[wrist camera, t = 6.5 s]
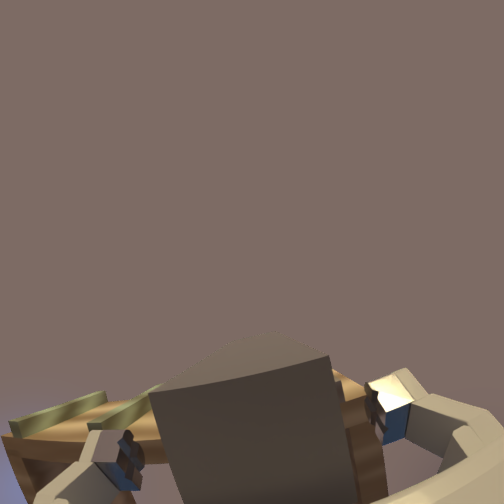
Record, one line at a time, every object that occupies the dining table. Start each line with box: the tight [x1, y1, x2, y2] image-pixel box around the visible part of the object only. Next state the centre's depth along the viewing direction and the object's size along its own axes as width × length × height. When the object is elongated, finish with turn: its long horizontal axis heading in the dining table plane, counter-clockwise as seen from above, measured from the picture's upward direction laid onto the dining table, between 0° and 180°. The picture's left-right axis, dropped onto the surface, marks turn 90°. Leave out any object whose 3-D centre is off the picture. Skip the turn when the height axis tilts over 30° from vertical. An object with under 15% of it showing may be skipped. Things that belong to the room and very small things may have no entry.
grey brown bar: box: [148, 331, 358, 504], centre depth 18 cm, size 24×4×4 cm, turn 179°
